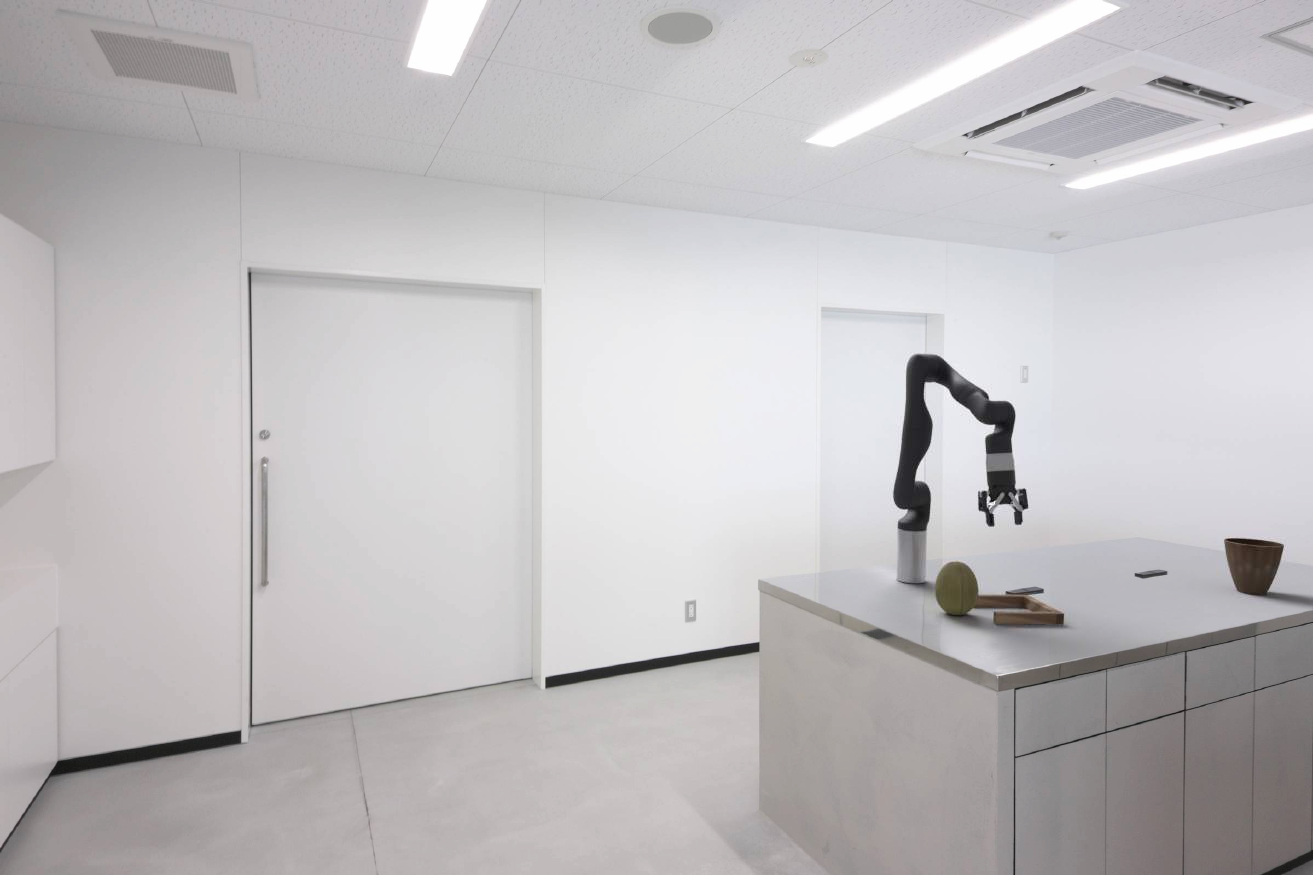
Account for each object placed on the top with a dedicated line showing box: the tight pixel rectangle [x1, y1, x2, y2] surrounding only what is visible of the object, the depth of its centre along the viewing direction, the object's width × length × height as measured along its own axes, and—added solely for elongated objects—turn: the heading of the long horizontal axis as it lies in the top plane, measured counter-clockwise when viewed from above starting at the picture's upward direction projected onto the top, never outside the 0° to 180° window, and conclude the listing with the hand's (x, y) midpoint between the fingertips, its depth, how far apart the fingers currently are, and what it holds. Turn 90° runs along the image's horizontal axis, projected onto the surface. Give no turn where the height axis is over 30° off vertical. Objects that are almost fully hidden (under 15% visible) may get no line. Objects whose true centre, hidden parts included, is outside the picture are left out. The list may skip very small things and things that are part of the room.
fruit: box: [934, 560, 979, 616], centre depth 213 cm, size 11×11×15 cm
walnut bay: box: [973, 594, 1065, 626], centre depth 214 cm, size 20×18×3 cm
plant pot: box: [1223, 537, 1285, 596], centre depth 240 cm, size 15×15×16 cm
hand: (1004, 525), depth 219 cm, fingers open, 8 cm apart
